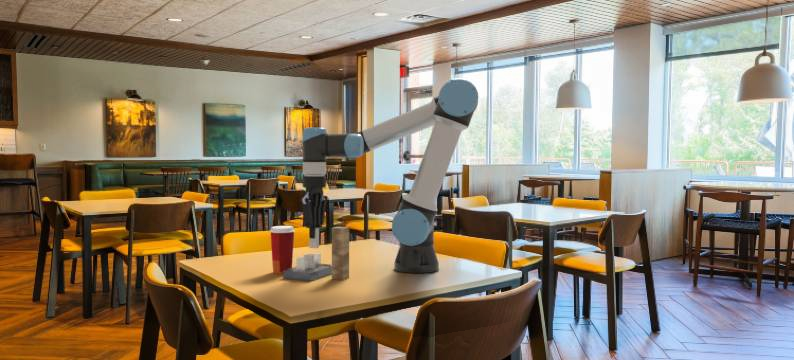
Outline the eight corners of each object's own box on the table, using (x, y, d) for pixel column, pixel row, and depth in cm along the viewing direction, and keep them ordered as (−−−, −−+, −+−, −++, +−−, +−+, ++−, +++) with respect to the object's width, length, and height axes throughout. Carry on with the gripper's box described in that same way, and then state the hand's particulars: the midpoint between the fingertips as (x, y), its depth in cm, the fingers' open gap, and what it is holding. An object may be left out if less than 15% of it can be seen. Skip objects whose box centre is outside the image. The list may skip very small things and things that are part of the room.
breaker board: (333, 273, 192) (333, 253, 192) (310, 281, 179) (310, 260, 179) (307, 270, 196) (307, 251, 196) (283, 278, 183) (283, 257, 183)
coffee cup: (297, 270, 197) (297, 225, 196) (291, 275, 189) (291, 228, 188) (273, 269, 198) (273, 225, 197) (265, 274, 189) (265, 228, 189)
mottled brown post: (349, 277, 185) (349, 227, 185) (342, 280, 182) (343, 228, 181) (338, 276, 187) (338, 226, 186) (331, 278, 183) (331, 227, 183)
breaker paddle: (314, 267, 188) (314, 254, 188) (311, 267, 186) (311, 255, 186) (306, 266, 189) (306, 253, 189) (303, 267, 188) (303, 254, 187)
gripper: (315, 174, 197) (315, 244, 198) (293, 175, 185) (293, 249, 186) (334, 175, 194) (334, 246, 195) (313, 176, 182) (313, 251, 183)
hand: (314, 247), depth 190 cm, fingers closed
